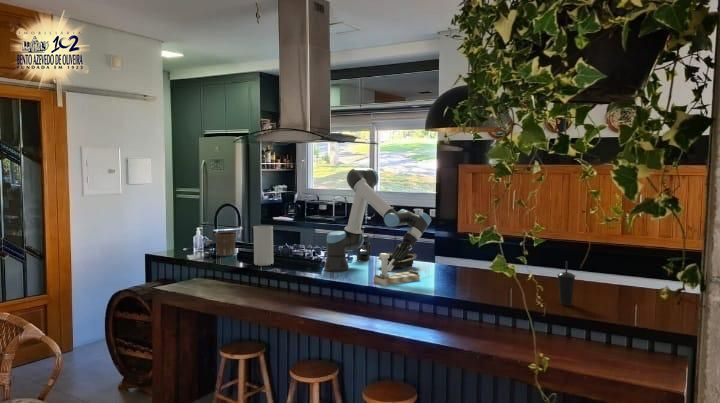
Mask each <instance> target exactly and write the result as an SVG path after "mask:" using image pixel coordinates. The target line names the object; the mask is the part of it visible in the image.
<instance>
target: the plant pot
mask: <svg viewBox="0 0 720 403" xmlns="http://www.w3.org/2000/svg"><path fill="white" fill-rule="evenodd" d="M237 234H238V233H237V232H236V231H235V232H233V231H226V232H225V231H223V232H214V233H213V235H214V240H215V243H216V244H215V246H216V254H217V256H218V257H219V256H220V257H223V256H225V257H230V256H231V255H233V256H234V255H235V252H236V251H235V250H236V249H235V248H236V239H237Z"/></svg>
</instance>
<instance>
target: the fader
mask: <svg viewBox="0 0 720 403" xmlns="http://www.w3.org/2000/svg"><path fill="white" fill-rule="evenodd" d="M379 257H381V260H380V261H381V263H380V264H381V272H380V273H379V276H383V277H384V278H387V277H389V274H390V273H388V272H389V271H388V258H389V254H386V252H381V253H379Z"/></svg>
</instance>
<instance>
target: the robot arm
mask: <svg viewBox="0 0 720 403" xmlns="http://www.w3.org/2000/svg"><path fill="white" fill-rule="evenodd" d="M346 182H347V185H348V187H350V189H351V190H352V191H353V192H354V196H353V201H352V204H351V209H350V213H349V218H348V222H347V225H346V226H345V227H344V228H343V229H344V230H336V231H331V232H329V233H327V234H326V260H325V263H324V267H323V269H324V271H325V272H330V273H331V272H332V273H338V272H340V273H341V272H346V271H349V266H350V265H349V263H348V259H347V257H346V256H347V254H346V253H347V252H349V251H355V250H358V248H360V249H361V247H363V246H362V245H363V242H365V239H364V237H363V235H364V233H363V230H362V228H361V227H362V224H363V221H364V216H365V212H366V208H367V205H368V204H369V205H370V206H371V207H372V208H373V209H374V210H375V211H376V212H377V213H378V214H379V215H380V216H382V218H383V222H384V224H385V225H386V226H387V227H390V228H391V227H395V228H396V227H397V226H398V227H399V226H406V225H407V226H409V229H408V231H406V233H405V234H404V236H403V237H402V241H401V243H400V244H399V243H397V244H396V245H395V248H394V250H393V251H394V252H393V254H392V256H391V258H392V260H391V262H390V263H389V265H388V272H392V270H394V268H393V267H394V266H395V265H396V263H397V262H399V261H400V262H401V261H402V260H403V259H404V258H405V257H406V256H407V255H408V254H409V252H413V250H414V248H413V247H414V246H415V245H416V243H417V242H418V241H419V239H420V238H421V237H422V236H423V234H424V233H425V231H426V230H427V229H428V227H429V226H430V224H431V222H432V217H431V216H430V215H429V214H427V213H425V212H421V213H420V214H416V213H414V212H411V211H410V210H408V209H404V208H402V209H400V210H399V211H396V210H395V209H394V208H393V207H392V206H391V205H390V204H389V203H388V202H386V200H385V199H383V198H382V197H381V195H380V194H378V192H376V190H374V187H376V186H377V185H378V183H379V174H378V173H377V171H376V170H375V169H374V168H371V167H370V168H369V167H363V168H362V167H355V168H352V169H350V170H349V171H348V173H347V175H346Z"/></svg>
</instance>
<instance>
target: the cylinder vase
mask: <svg viewBox="0 0 720 403" xmlns="http://www.w3.org/2000/svg"><path fill="white" fill-rule="evenodd" d="M252 228H253V264H254V265H255V266H257V265H258V266H259V267H265V266H267V267H268V266H272V265H273V264H274V226H273V225H254V226H252ZM271 264H272V265H271Z"/></svg>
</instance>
